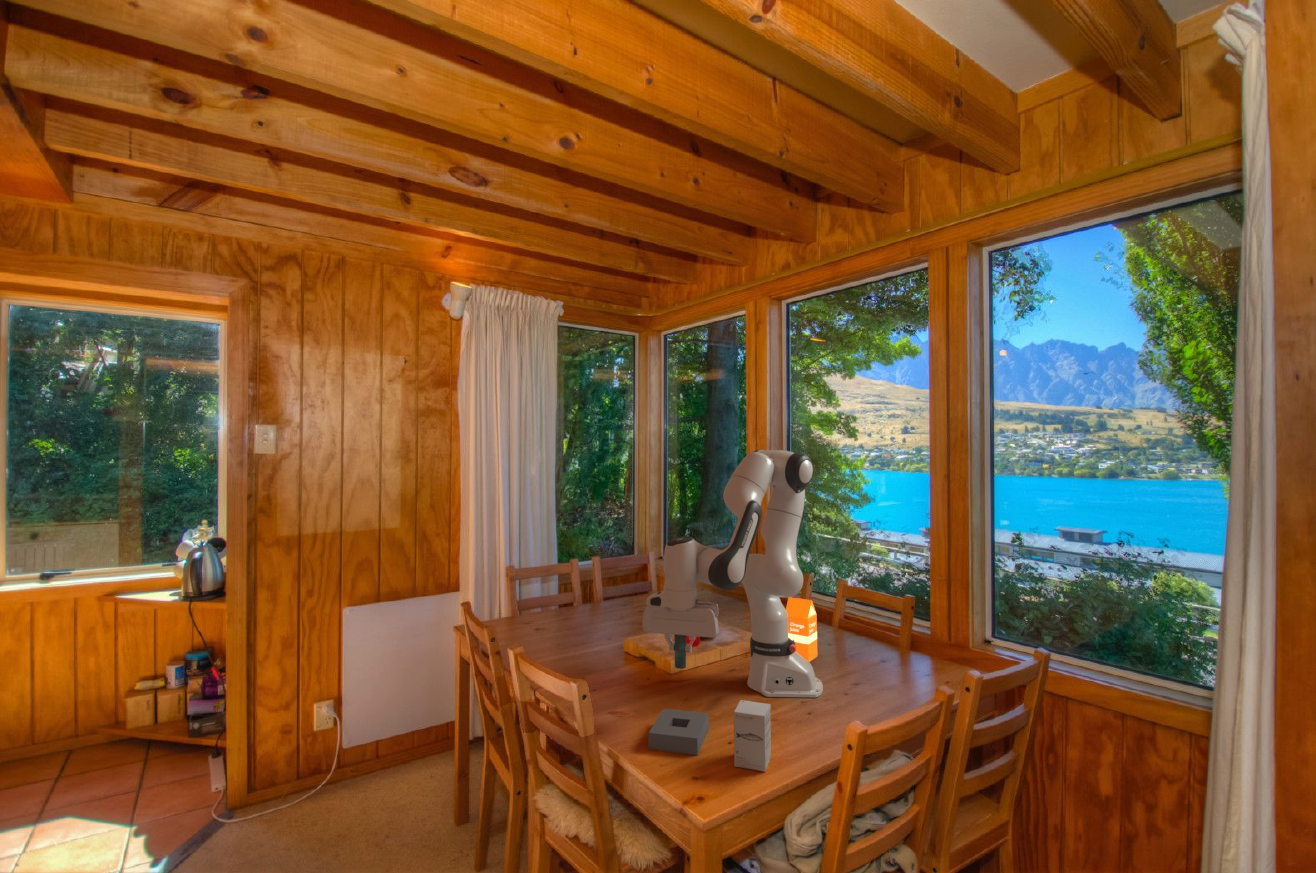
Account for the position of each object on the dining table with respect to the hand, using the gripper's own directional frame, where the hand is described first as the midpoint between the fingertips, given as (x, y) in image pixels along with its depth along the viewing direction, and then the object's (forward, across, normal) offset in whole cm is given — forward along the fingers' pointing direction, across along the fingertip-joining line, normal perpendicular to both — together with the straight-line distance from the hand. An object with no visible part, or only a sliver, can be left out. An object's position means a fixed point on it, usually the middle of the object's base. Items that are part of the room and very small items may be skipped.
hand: (680, 650), depth 161 cm
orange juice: (+18, -28, -59) cm, 68 cm away
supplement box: (+19, -21, +16) cm, 32 cm away
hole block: (+19, -2, +9) cm, 21 cm away
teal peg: (+4, 0, 0) cm, 4 cm away
